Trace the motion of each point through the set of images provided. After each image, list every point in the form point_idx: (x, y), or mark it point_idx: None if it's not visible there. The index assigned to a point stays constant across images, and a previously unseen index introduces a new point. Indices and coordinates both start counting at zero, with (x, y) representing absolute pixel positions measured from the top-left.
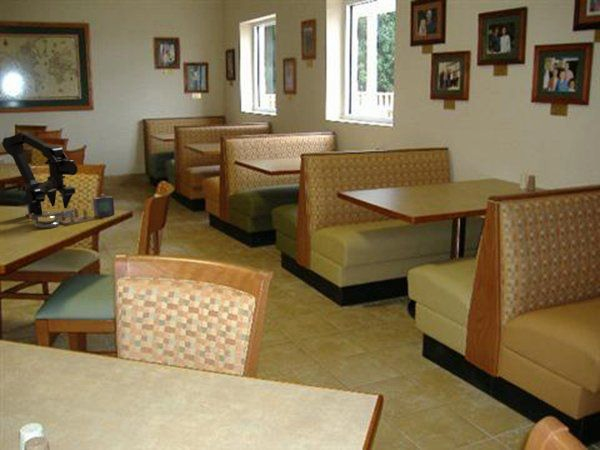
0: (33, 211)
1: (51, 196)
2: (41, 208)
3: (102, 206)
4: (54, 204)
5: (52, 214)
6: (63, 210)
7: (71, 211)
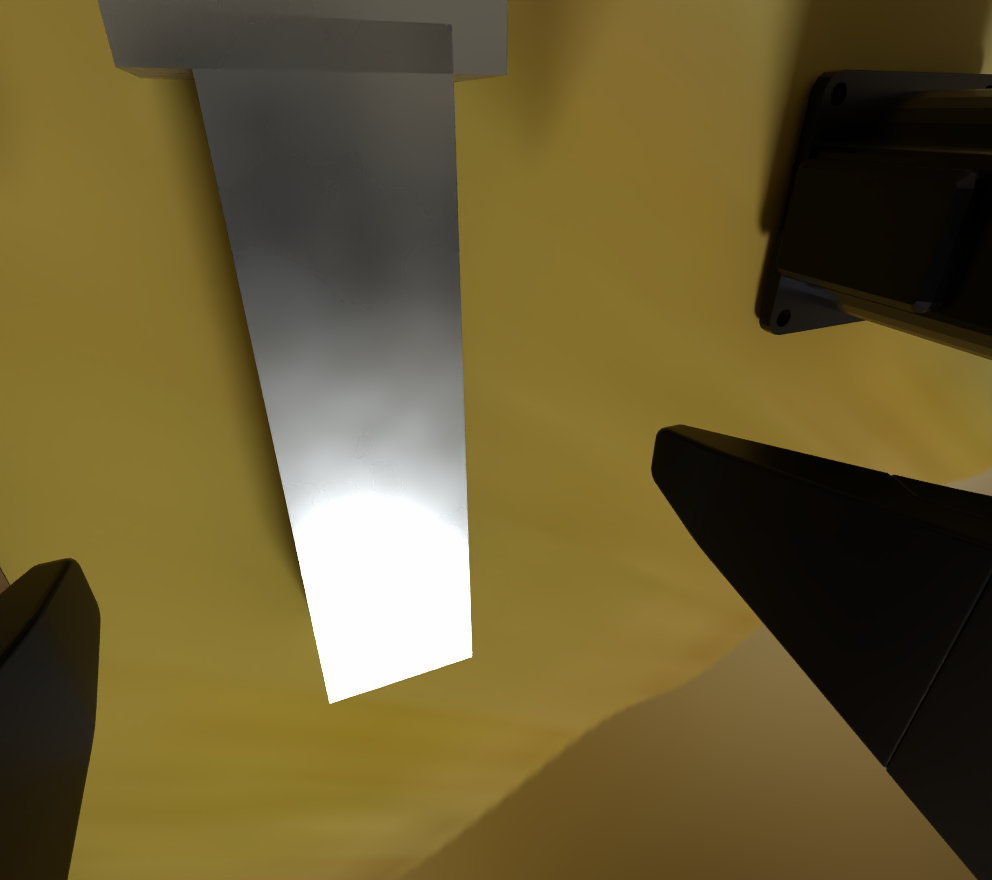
0: (930, 127)
1: (924, 611)
2: (874, 289)
3: None
4: (672, 500)
5: (207, 123)
6: (457, 548)
7: (317, 640)
